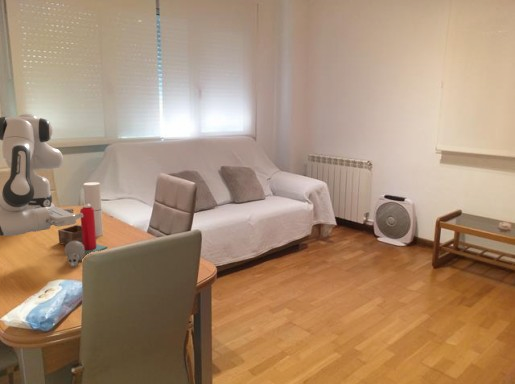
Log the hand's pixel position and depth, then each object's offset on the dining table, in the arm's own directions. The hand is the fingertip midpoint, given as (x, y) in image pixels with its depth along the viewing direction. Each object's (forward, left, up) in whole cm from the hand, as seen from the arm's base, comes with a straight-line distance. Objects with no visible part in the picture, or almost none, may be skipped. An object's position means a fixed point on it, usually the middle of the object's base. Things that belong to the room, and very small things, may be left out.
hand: (77, 212), depth 168 cm
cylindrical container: (-13, +19, -17) cm, 29 cm away
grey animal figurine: (+9, -10, -18) cm, 22 cm away
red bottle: (+1, +4, -17) cm, 17 cm away
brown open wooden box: (-12, +8, -17) cm, 23 cm away
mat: (+1, +4, -17) cm, 18 cm away
